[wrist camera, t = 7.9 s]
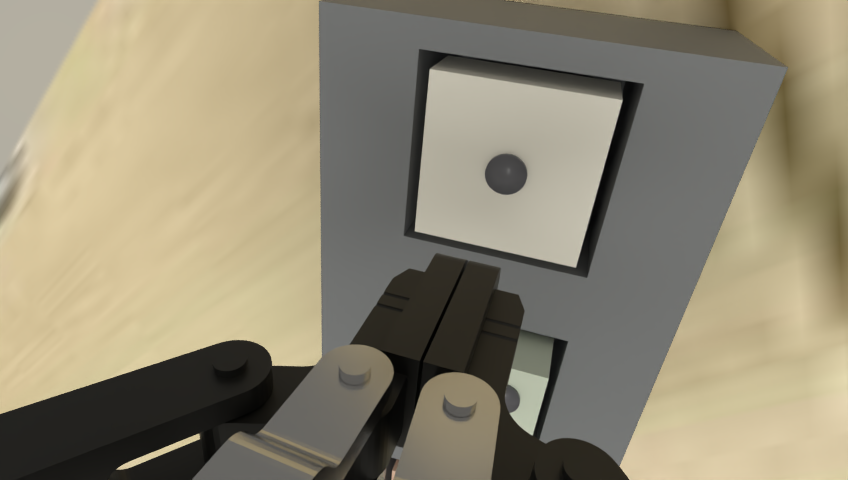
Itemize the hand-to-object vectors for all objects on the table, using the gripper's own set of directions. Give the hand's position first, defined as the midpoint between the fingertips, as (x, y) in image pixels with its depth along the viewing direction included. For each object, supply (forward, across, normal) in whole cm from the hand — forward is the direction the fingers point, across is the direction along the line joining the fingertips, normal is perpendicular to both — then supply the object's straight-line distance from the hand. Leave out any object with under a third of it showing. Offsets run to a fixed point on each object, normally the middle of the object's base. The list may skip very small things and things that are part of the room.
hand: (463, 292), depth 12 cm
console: (+14, 0, +10) cm, 17 cm away
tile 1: (+11, 0, 0) cm, 11 cm away
